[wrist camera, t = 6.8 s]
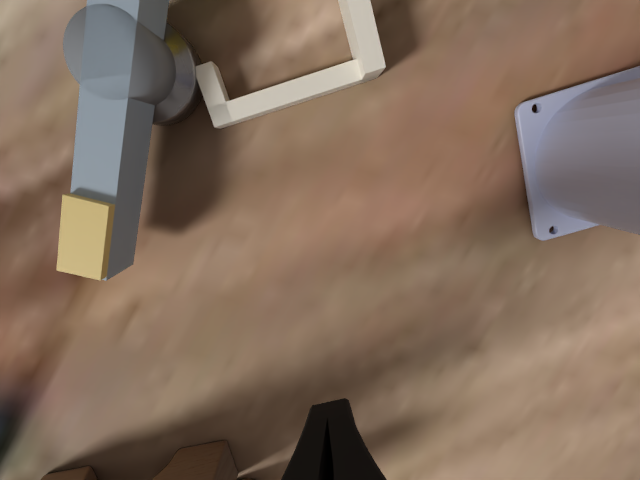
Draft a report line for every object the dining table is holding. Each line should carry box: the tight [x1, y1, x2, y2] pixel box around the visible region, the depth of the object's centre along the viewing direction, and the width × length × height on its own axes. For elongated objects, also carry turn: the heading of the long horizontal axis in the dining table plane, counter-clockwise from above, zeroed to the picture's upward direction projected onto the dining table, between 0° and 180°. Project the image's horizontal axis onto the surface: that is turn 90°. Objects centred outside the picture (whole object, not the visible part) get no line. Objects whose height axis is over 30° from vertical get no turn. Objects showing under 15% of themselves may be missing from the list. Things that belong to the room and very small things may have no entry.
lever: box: [57, 0, 176, 280], centre depth 15 cm, size 4×20×3 cm, turn 165°
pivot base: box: [152, 22, 202, 125], centre depth 18 cm, size 5×5×2 cm
